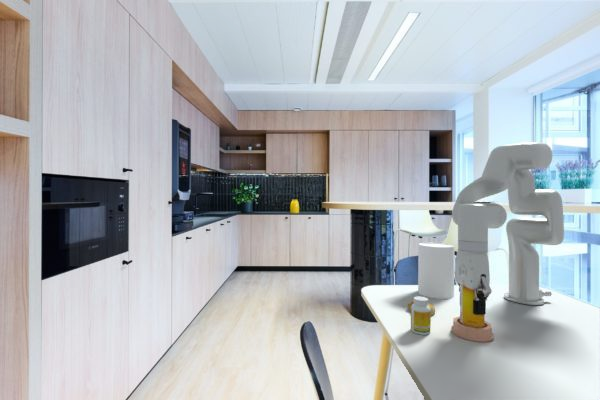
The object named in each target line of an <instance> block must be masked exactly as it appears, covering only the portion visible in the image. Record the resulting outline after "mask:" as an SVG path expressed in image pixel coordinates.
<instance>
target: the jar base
mask: <svg viewBox="0 0 600 400" xmlns="http://www.w3.org/2000/svg"><path fill="white" fill-rule="evenodd" d="M452 320H453V321H452V323H453V325H452V326H451V328H450V329H451V333H452V334H453V335H454V336H456V337H458V338H461V339H463V340H466V341H469V342H475V343H489V342H493V340H494V339H495V335H494V332H493V331H492V330H493V327H492V324H491V323H489V321H486V320H485V322H484V326H483V327H482V328H473V327H468V326H465V325H462V323H461V322H460V316H456V317H453V319H452Z"/></svg>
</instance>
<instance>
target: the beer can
mask: <svg viewBox="0 0 600 400" xmlns="http://www.w3.org/2000/svg"><path fill="white" fill-rule="evenodd" d="M465 278H466V277H464V275H463V274H462V275H461V276H460V292H459V307H460V308H459V314H460V315H459V317H460V322H461V323H462V325H465V326H468V327H473V328H482V327H483V326H484V322H485V321H486V320H485V318H486V317H485V315H486V314H485V315H475V314H473V300H475V297H474V292H473V290H471V289H468V288H467V287H465ZM478 288H482V286H478ZM481 292H482V291H478V295H479V294H480V293H481Z"/></svg>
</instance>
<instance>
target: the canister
mask: <svg viewBox="0 0 600 400" xmlns="http://www.w3.org/2000/svg"><path fill="white" fill-rule="evenodd" d="M417 245H418V246H417V247H418V255H417V256H418V259H417V260H418V261H417V262H418V265H417V266H418V270H417V272H418V273H417V274H418V275H417V293H418V294H419V295H420V296H422V297H426V298H431V299H439V300H447V299H452V298H454V297H455V245H454V244H449V243H442V242H420V243H418V244H417Z"/></svg>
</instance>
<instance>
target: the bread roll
mask: <svg viewBox="0 0 600 400" xmlns="http://www.w3.org/2000/svg"><path fill="white" fill-rule="evenodd" d="M413 301H414V299H413V300H411V301H410V302H409V303H408V305H407V307H408V310H409V311H410V312H411V306H412V304H414V302H413ZM428 306H429V307H430V309H431V316H434V315H435V314H436V308H435V306H434V305H432V304H430V302H428Z"/></svg>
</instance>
